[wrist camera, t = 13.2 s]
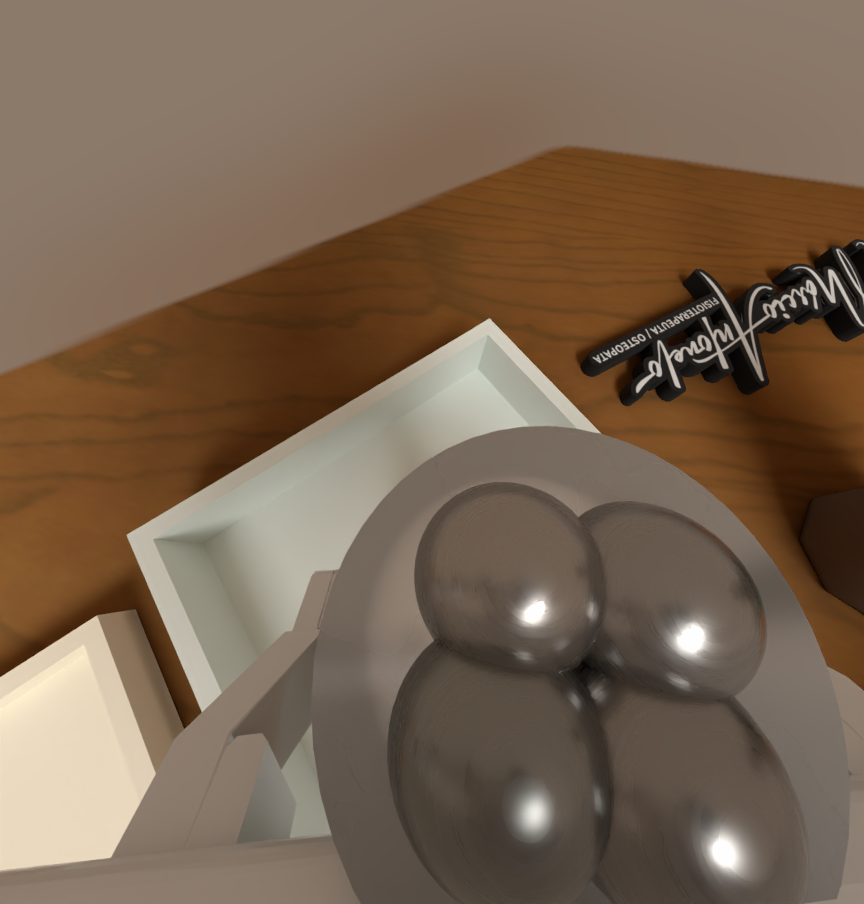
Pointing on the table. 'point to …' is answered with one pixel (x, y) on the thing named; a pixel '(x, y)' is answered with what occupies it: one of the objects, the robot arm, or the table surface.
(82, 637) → the tray
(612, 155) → the table surface
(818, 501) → the beer bottle
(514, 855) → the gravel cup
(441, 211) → the table surface
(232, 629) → the bin
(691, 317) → the nameplate
